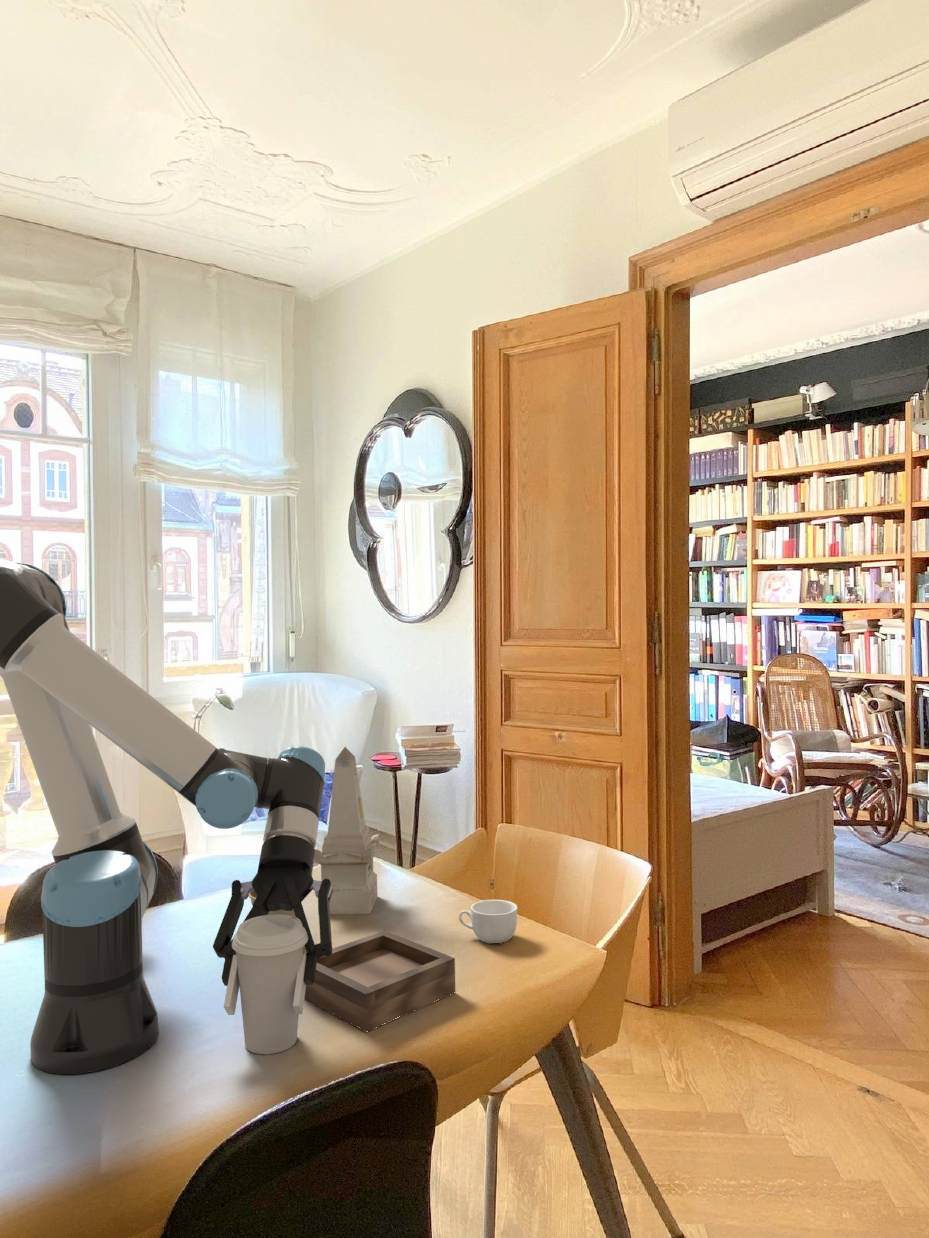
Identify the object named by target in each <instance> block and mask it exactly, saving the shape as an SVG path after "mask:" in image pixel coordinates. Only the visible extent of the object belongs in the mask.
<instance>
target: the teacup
mask: <svg viewBox="0 0 929 1238" xmlns="http://www.w3.org/2000/svg"><path fill="white" fill-rule="evenodd" d="M463 914H466V915H467V916H468V917H469V918H470V921H471V923H466V922H465V921H464V920H463V919H462V917H463V916H462V915H463ZM458 916H459V917H458V920H459V922H460V924H461V925H462V926H464V927H466V928H468V929H470V930H473V932H474V935H475V936H476V937H477V938H478V939H479V940H480V941H482V942H483V941H484V942H483V943H485V942H486V943H485V944H489V943H500V944H503V943H502V942H504V943H506V942H508V941H509V940H510V939H511V938H512V937H513V936H514V934H515V932H516V930H517V923H518V905H517V904H516V903H514V902H512V901H510V900H503V899H483V900H479V901H477V902H473V904H471V906H470V910H468V909H465V910H462V911H461V912H460V913H459V915H458ZM505 941H506V942H505Z"/></svg>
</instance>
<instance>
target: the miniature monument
mask: <svg viewBox="0 0 929 1238" xmlns="http://www.w3.org/2000/svg"><path fill="white" fill-rule="evenodd" d="M357 767H358V766H357V762H356V756H355V755H354V754H353V753H352V752H351V751H350V749H348V748H347V746H344V747H343V749H342V750H341V751H340V753H339V754H338V755H337V757H336V758H335V760H334V769H333V780H332V787H331V799H330V808H329V816H328V817H329V818H328V827H327V833H326V834H324V836H323V837H324V838H323V844H319V846H318V848H314V849H315V855H314V863H313V864H318V865H320V878H321V879H320V881H323V880H324V879H329V880H330V882H331V885H332V889H333V892H332V895H331V899H330V902H329V907H330V915H370V914H371V912H372V910H373V909H374V906H375V903H376V901H377V899H378V874H377V873H376V872H375V871H374V857H375V856H376V853H377V852H378V850H379V848H380V834H379V833H376V834H373V835H372V834H371V833H370V828H369V827H368V826H366V820H365V813H364V806H363V800H362V795H361V787H360V781H359V775H358V768H357ZM317 911H318V912H317V914H318V915H319V908H318V907H317Z"/></svg>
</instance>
